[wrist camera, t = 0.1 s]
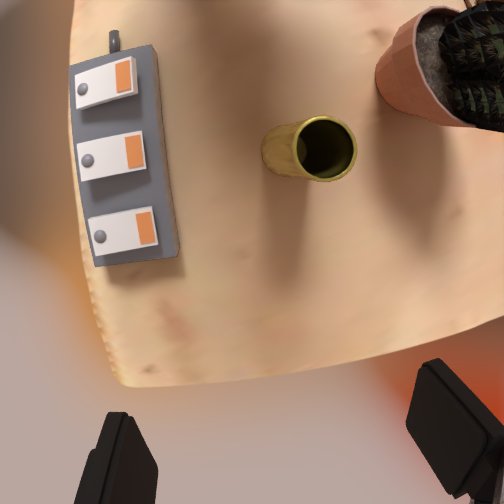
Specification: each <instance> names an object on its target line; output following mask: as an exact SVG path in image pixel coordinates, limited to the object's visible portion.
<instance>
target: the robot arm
mask: <svg viewBox="0 0 504 504" xmlns="http://www.w3.org/2000/svg"><path fill="white" fill-rule="evenodd" d="M406 427H407V430H408V432H409V433H410V434H411V436H412V438H413V439H414V441H415V442H416V444H417V446H418V447H419V449H420V450H421V452H422V454H423V455H424V457H425V458H426V460H427V462H428V463H429V465H430V466H431V468H432V469H433V471H434V473H435V474H436V476H437V478H438V479H439V481H440V483H441V484H442V486H443V487H444V489H445V491H446V492H447V493H448V494H450V495H451V494H452V495H453V497H454V498H455V499H457V498H459V497H461V496H462V495H464V494H466V493H468V494H469V496H470V497H471V499H470V503H469V504H504V426H503V425H502V424H501V422H500V421H499V420H498V419H497V418H496V417H495V416H494V415H493V414H492V413H491V411H490V410H489V409H488V408H487V407H486V406H485V405H484V404H483V403H482V402H481V401H480V400H479V399H478V397H477V396H476V395H475V394H474V393H473V392H472V391H471V390H470V389H469V388H468V387H467V386H466V385H465V384H464V383H463V382H462V381H461V379H460V378H459V377H458V376H457V375H456V374H455V373H454V372H453V371H452V370H451V369H450V368H449V367H448V366H447V365H446V364H445V363H444V362H443V361H442V360H441V359H440V358H436V359H433V360H430V361H427V362H425V363H423V364H422V367H421V368H420V369H419V370H418V375H417V378H416V383H415V388H414V391H413V396H412V400H411V403H410V407H409V411H408V415H407V419H406ZM157 479H158V467H157V464H156V462H155V460H154V458H153V456H152V454H151V452H150V450H149V448H148V447H147V445H146V443H145V441H144V439H143V437H142V435H141V432H140V430H139V428H138V426H137V424H136V422H135V420H134V418H133V417H132V416H128V414H127V413H126V412H108V414H107V416H106V419H105V421H104V424H103V427H102V430H101V433H100V436H99V439H98V442H97V445H96V449H92V450H91V451H90V453H89V455H88V459H87V462H86V465H85V468H84V471H83V475H82V477H81V481H80V484H79V488H78V491H77V494H76V498H75V501H74V504H155V498H156V488H157Z"/></svg>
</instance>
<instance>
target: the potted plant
mask: <svg viewBox="0 0 504 504" xmlns="http://www.w3.org/2000/svg"><path fill="white" fill-rule="evenodd" d="M375 77H376V84H377V87H378V89H379V91H380V94H381V95H382V97H383V98H384V99H385V101H386V102H387V103H388V104H389V105H391V106H392V107H393V108H394V109H396V110H398V111H401V112H403V113H408V114H413V115H418V116H422V117H425V118H426V119H428V120H430V121H432V122H434V123H436V124H438V125H440V126H453V127H472V128H479V129H485V130H491V131H497V132H502V133H504V2H499V1H483V2H482V3H480V4H478V5H475V6H473V7H471V8H470V7H468V8H467V9H466V10H465V11H462V12H460V11H459V10H456V9H453V8H450V7H447V6H444V5H443V6H430V7H429V8H427V9H426V10H424V11H423V12H421V13H420V14H418V15H417V16H415V17H414V18H412V19H411V20H410V21H408V22H407V23H405V24H404V25H402V26H401V27H400V28H399V29H398V31H397V33H396V35H395V37H394V39H393V44H392V45H391V46H390V47H389V49H388V50H387V51H386V52H385V53H384V55H383V56H382V57H381V58H380V60H379V62H378V63H377V65H376V72H375Z"/></svg>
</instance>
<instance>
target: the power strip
mask: <svg viewBox="0 0 504 504" xmlns="http://www.w3.org/2000/svg"><path fill="white" fill-rule="evenodd" d="M109 52H110V54H108V55H104V56H101V57H97V58H94V59H90V60H87V61H84V62H80V63H77V64H74V65H71V66H69V87H70V108H71V122H72V134H73V144H74V153H75V161H76V169H77V176H78V183H79V190H80V196H81V202H82V207H83V213H84V218H85V224H86V229H87V234H88V238H89V243H90V248H91V252H92V256H93V261H94V265H95V267H101V266H108V265H116V264H123V263H131V262H138V261H146V260H153V259H161V258H169V257H176V256H177V253H178V251H179V248H180V246H179V240H178V234H177V228H176V222H175V215H174V208H173V202H172V195H171V187H170V180H169V173H168V165H167V157H166V148H165V140H164V131H163V121H162V111H161V100H160V89H159V77H158V63H157V53H156V51H155V50H154V48H153V46H152V45H146V46H141V47H137V48H132V49H128V50H124V51H120V52H119V31H118V30H113V31H110V32H109ZM130 56H132V57H134V58H135V59H136V70H137V85H138V94H134V95H131V96H127V97H123V98H119V99H116V100H112V101H109V102H105V103H102V104H99V105H95V106H92V107H89V108H86V109H83V110H80V109H76V93H75V75H77V74H79V73H82V72H85V71H87V70H90V69H93V68H96V67H99V66H102V65H105V64H108V63H111V62H114V61H117V60H120V59H123V58H127V57H130ZM136 131H142V134H143V143H144V151H145V159H146V167H147V169H142V170H137V171H131V172H126V173H121V174H115V175H110V176H106V177H101V178H96V179H91V180H87V181H82V182H81V175H80V168H79V160H78V152H77V144H78V143H82V142H87V141H91V140H96V139H100V138H105V137H110V136H115V135H120V134H125V133H130V132H136ZM148 206H152V209H153V215H154V221H155V227H156V233H157V239H158V245H153V246H148V247H142V248H137V249H131V250H126V251H121V252H115V253H110V254H105V255H100V256H95V252H94V247H93V243H92V238H91V233H90V228H89V223H88V219H89V218H91V217H96V216H101V215H106V214H111V213H116V212H121V211H126V210H132V209H137V208H142V207H148Z"/></svg>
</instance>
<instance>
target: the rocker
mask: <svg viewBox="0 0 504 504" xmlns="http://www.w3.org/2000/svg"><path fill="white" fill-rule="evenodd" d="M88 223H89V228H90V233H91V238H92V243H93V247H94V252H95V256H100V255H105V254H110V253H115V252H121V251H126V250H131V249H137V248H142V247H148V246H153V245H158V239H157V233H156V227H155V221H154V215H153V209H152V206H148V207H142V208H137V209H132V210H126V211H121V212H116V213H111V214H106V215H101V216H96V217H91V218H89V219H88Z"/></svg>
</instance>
